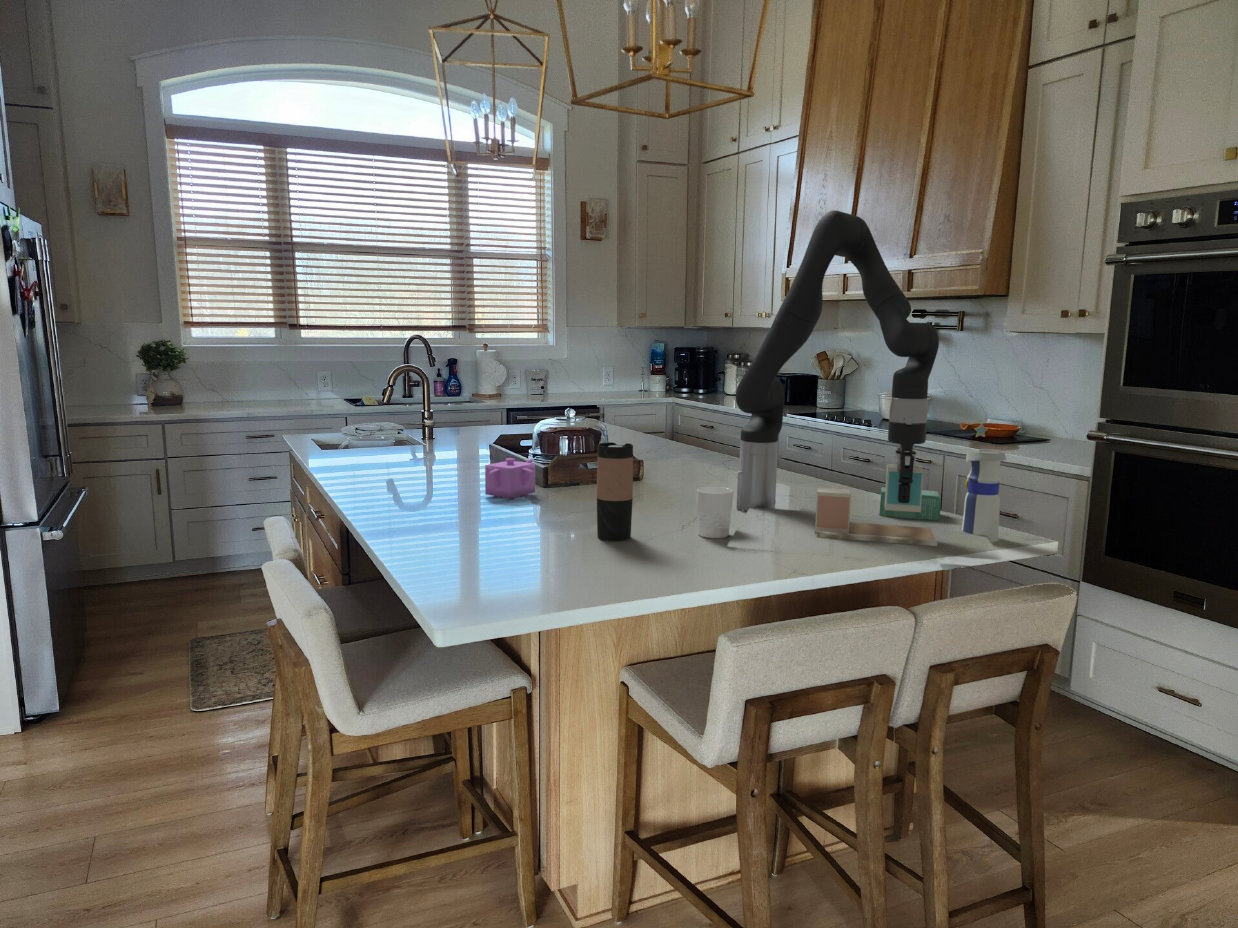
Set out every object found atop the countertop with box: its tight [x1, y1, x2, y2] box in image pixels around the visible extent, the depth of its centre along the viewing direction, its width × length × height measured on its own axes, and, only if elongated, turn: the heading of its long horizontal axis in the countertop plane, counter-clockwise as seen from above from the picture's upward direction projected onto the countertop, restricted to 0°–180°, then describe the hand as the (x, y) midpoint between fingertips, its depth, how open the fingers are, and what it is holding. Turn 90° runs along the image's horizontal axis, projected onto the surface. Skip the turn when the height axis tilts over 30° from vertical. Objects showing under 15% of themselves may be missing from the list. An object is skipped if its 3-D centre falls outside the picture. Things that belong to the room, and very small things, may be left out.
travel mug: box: [596, 442, 634, 542], centre depth 184 cm, size 8×8×20 cm
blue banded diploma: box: [961, 422, 1007, 543], centre depth 188 cm, size 8×9×25 cm
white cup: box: [696, 486, 734, 539], centre depth 188 cm, size 8×8×10 cm
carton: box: [885, 463, 924, 512], centre depth 182 cm, size 7×5×9 cm
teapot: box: [484, 457, 536, 501], centre depth 228 cm, size 18×14×10 cm
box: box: [878, 486, 941, 521], centre depth 206 cm, size 7×14×8 cm, turn 74°
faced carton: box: [814, 487, 852, 534], centre depth 187 cm, size 7×5×9 cm
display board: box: [816, 521, 939, 547], centre depth 188 cm, size 24×17×2 cm
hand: (902, 499), depth 183 cm, fingers closed on carton, 5 cm apart
